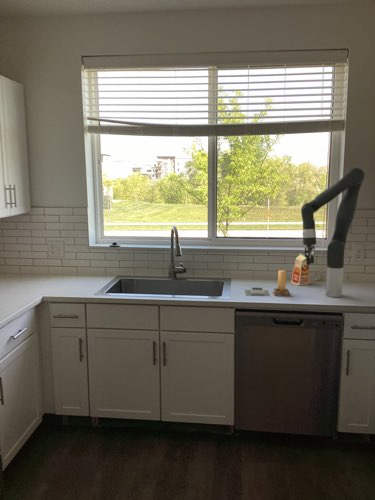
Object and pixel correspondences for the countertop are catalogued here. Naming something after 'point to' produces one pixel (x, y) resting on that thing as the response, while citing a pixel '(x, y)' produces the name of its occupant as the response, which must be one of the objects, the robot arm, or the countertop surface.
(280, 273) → the peg
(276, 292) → the holder
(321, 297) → the countertop surface
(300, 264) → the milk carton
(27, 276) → the countertop surface
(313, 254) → the robot arm
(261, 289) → the hub
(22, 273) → the countertop surface
